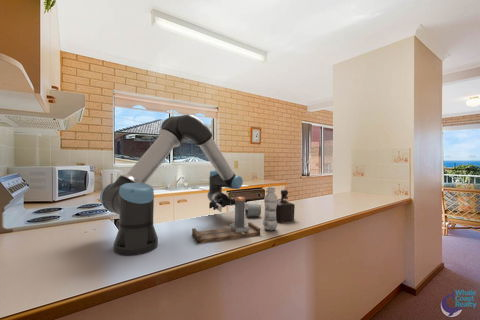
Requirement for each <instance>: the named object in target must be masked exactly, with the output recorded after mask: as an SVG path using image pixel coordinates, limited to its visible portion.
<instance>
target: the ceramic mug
mask: <svg viewBox="0 0 480 320" xmlns="http://www.w3.org/2000/svg"><path fill="white" fill-rule="evenodd" d="M247 204H248V210H247V209H245V210H244V216H245V217H246V218H252V217H254V218H255V217H256V218H257V217H260V216H261V214H262V208H261V204H259V203H249V202H247Z"/></svg>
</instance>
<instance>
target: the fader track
mask: <svg viewBox="0 0 480 320" xmlns="http://www.w3.org/2000/svg"><path fill="white" fill-rule="evenodd" d="M247 226H248V227H249V232H242V233H235V232H234V231H233V230H232V229H230V227H224V228H216V229H208V230H197V229H196V228H194V227H193V228H192V232H191V233H192V235H191V236H192V237H193V239H194V241H195V242H196V243H197V244H198V245H199V244H205V243H206V244H207V243H212V242H220V241H227V240H228V241H229V240H234V239H235V240H237V239H242V238H250V237H257V236H261V227H259V226H258V225H255V224H254V223H253V222H251V221H250V222H248V223H247Z"/></svg>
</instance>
